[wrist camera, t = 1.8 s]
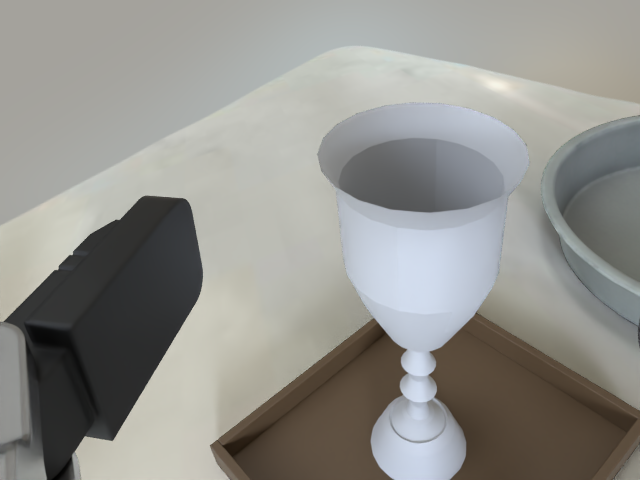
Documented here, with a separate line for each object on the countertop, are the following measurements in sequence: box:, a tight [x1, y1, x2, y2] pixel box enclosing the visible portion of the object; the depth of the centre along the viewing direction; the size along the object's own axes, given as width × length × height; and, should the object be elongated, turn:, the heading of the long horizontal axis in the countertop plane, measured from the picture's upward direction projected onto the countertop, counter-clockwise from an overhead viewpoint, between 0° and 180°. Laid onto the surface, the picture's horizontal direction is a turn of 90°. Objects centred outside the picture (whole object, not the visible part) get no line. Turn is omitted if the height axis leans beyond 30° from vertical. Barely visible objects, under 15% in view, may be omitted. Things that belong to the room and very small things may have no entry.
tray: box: [210, 313, 640, 480], centre depth 30 cm, size 17×15×2 cm
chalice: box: [318, 103, 530, 480], centre depth 25 cm, size 7×7×18 cm
